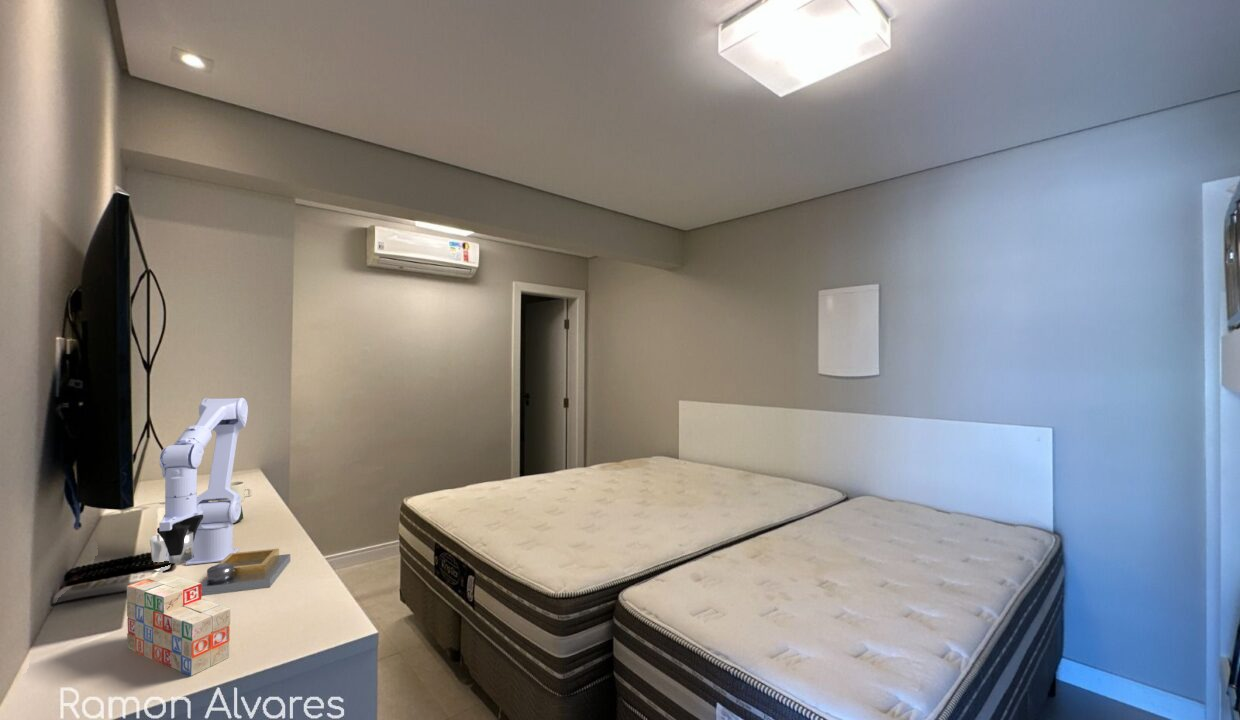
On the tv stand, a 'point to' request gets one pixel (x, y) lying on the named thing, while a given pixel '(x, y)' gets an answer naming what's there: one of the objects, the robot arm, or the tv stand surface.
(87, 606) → the tv stand surface
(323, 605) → the tv stand surface
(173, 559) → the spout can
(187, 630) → the stack of blocks
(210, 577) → the grey piece
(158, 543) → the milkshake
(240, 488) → the character mug
